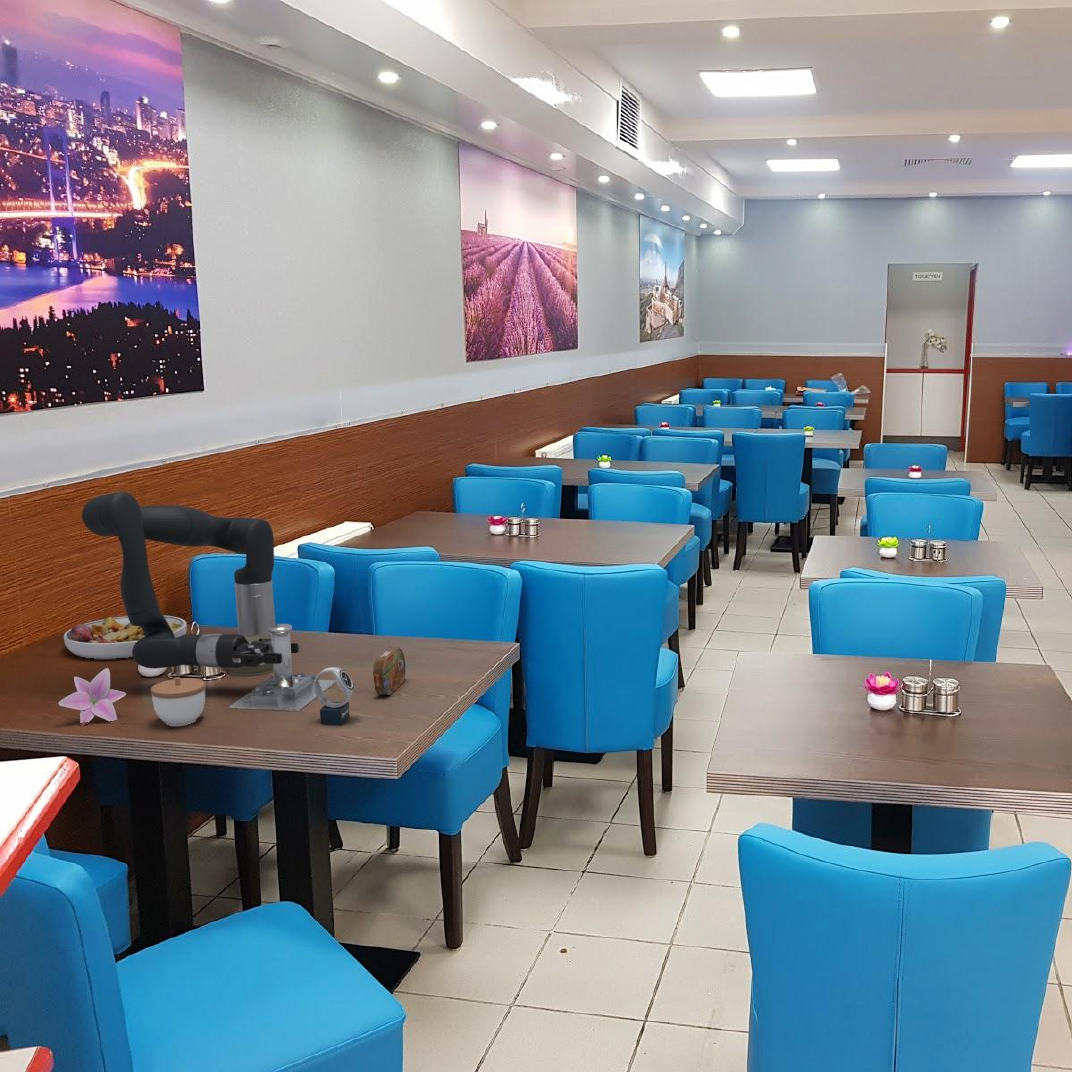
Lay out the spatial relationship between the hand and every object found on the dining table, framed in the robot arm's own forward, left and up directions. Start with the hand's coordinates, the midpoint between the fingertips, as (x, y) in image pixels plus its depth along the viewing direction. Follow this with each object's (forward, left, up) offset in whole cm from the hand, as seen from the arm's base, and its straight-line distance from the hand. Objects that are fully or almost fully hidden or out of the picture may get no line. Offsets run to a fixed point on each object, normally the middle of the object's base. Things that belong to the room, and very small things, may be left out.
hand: (290, 653), depth 256 cm
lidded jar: (+20, -16, -10) cm, 27 cm away
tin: (-7, +20, -10) cm, 23 cm away
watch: (+15, +16, -10) cm, 24 cm away
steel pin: (0, -2, -9) cm, 9 cm away
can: (-18, -18, -10) cm, 27 cm away
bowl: (-34, -61, -10) cm, 71 cm away
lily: (+21, -35, -10) cm, 42 cm away
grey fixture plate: (0, -2, -10) cm, 10 cm away
